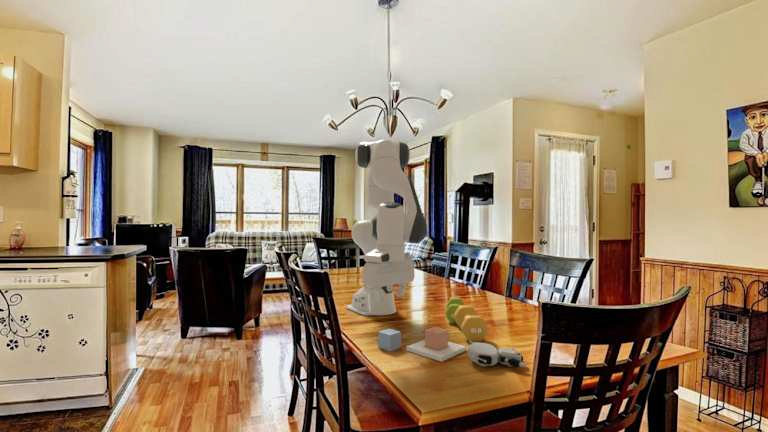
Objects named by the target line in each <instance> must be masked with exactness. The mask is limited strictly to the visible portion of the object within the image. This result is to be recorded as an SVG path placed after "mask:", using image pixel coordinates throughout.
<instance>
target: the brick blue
mask: <svg viewBox="0 0 768 432" xmlns="http://www.w3.org/2000/svg"><path fill="white" fill-rule="evenodd" d="M377 333H378V338H377V339H378V342H377V343H378V348H379V349H382V350H384V351H387V352H392V351H395V350H396V351H397V350H398V349H400V348H402V331H399V330H396V329H393V328H385V329H383V330H382V329H381V330H380V331H378V332H377Z"/></svg>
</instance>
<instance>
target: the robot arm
mask: <svg viewBox="0 0 768 432" xmlns="http://www.w3.org/2000/svg"><path fill="white" fill-rule="evenodd" d="M354 157H355V161H356V163H357V166H358V167H359V168H363V169H367V168H368V169H369V172H368V178H367V179H368V180H367V205H368V207H369V208H370V209H371V210H373V211H374V212H375V213H376V215H375V216H374V217H373V218H372V219H364V220H359V221H357V222H355V223H354V224H353V226H352V228H351V233H350V234H351V238H352V240H353V242H354V243H355V244H356V245H358V247H359V248H360V249H361V250H362V252H363V254H364V257H363V260H364V262H366V263H365V264H364V266H363V272H362V273H363V277H362V278H363V279H362V281H361V282H362V283H363V286H362V287H361V288H360V289H358V290H357V291H356V292H355V293H354V294H353V296H352V299H351V304H348V305H347V306H346V309H347V310H350V311H353V312H355V313H357V314H360V315H361V316H388V315H392V314H395V313H396V312H397V309H396V304H395V295H394V287H395V285H398V287H399V288H398V290H396V297H397V298H403V297H404V296H405V290H406V287H407V283H411V282H414V279H415V264H414V261H413V256H412V255H411V254H410V252H406V249H405V248H406V246H405V245H406V244H405V243H409V244H420V243H421V242H422V241H423V240H424V239H426V237H427V235H428V223H427V220H426V217H425V215H424V213H423V211H422V208H421V205H420V201H419V199H418V196H417V192H416V191H417V190H416V189H415V185H414V183H413V180H412V179H411V177H410V176H409V175H407V174H406V173H405V172H404V171H403V169H405V167H407V166H408V165H409V162H410V159H411V151H410V147H409V146H408V143H405V142H401V141H398V142H396V141H391V140H389V139H380V140H378V141H369V142H368V141H362V142H359V143H358V145H357V147H356V148H355V153H354ZM395 195H398V196H400V197H401V198H403V200H404V202H405V205H406V209H407V212H408V213H404V207H403V204H400V203H399V202H395V197H394V196H395Z"/></svg>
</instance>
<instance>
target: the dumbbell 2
mask: <svg viewBox="0 0 768 432" xmlns="http://www.w3.org/2000/svg"><path fill="white" fill-rule="evenodd" d="M454 319H455V321H456V323H457V324H456V325H458V327H459V328H460V331H461V332H462V334H463V337H465V339H466V340H467V341H468V342H469V341H472V342H474V343H475V342H479V343H481V342H482V341H483V340H484V339H485V338H486V336H487V335H488V333H489V326H488V324H487V323H486V321H485V319H484V318H483V317H482V316H481V315H478V313H477V311H476V309H475V308H474V306H473V305H467V304H465V305H461V306H459V307H458V308H457V310H456V312H455V313H454Z"/></svg>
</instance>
